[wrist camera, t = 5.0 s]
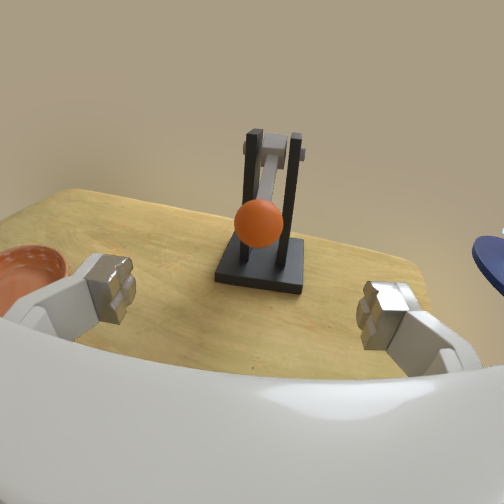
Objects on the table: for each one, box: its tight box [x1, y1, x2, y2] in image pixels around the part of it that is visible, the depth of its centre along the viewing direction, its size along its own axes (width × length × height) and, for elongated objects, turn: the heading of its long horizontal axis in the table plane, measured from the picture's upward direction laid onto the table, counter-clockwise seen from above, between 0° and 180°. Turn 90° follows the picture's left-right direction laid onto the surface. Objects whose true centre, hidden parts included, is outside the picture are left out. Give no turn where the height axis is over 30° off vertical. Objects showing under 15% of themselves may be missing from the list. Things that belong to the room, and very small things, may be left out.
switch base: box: [215, 129, 306, 294], centre depth 31 cm, size 10×9×15 cm
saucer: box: [0, 245, 69, 317], centre depth 23 cm, size 16×16×3 cm
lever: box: [234, 133, 287, 248], centre depth 25 cm, size 13×4×4 cm, turn 171°
